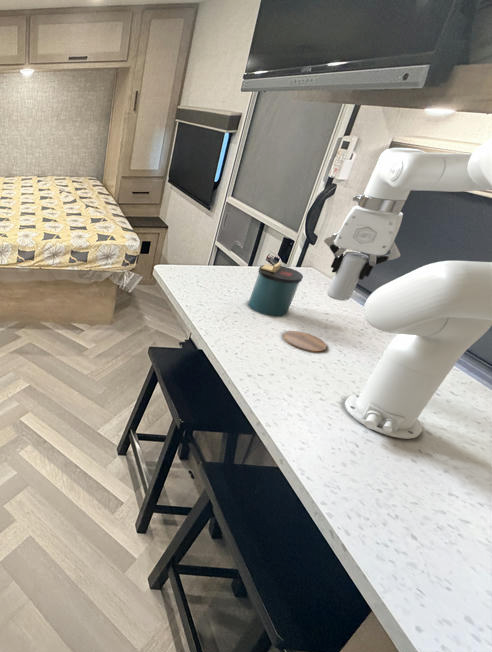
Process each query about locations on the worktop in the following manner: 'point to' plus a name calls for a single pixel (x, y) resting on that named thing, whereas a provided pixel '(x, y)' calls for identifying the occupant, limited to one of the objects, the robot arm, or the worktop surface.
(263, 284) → the teal cylinder tin
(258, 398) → the worktop surface
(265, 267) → the slider
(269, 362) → the worktop surface
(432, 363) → the robot arm
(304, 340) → the coaster
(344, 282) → the beverage can
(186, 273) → the worktop surface
